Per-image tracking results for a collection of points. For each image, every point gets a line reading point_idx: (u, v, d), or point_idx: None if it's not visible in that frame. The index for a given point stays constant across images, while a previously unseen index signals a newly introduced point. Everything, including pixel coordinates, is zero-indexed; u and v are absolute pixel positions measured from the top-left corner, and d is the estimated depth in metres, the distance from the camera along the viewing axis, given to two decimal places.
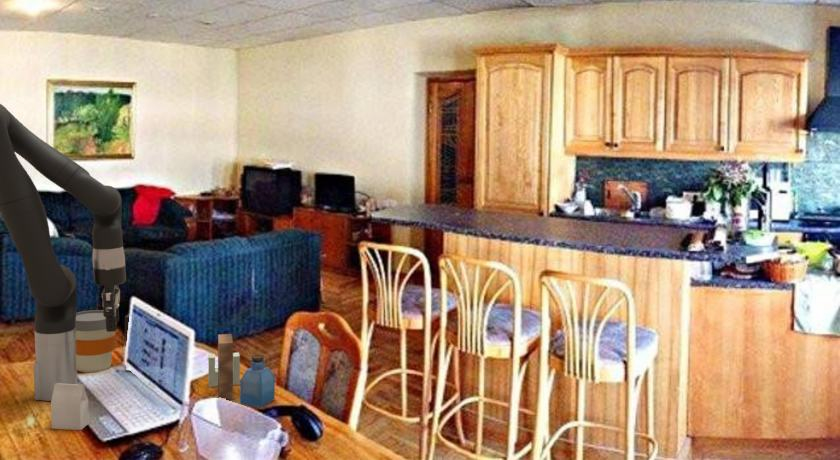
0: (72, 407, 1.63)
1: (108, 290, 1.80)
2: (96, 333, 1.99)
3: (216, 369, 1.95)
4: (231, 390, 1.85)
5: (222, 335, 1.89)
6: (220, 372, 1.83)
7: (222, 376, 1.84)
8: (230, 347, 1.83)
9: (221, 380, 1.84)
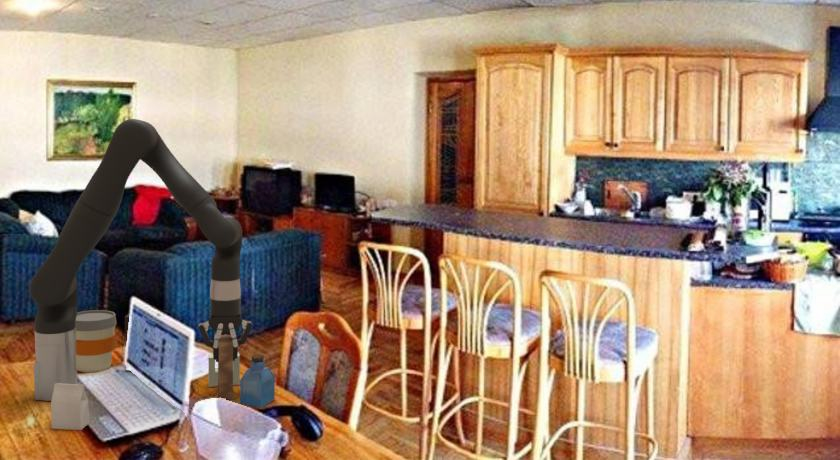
0: (72, 407, 1.63)
1: None
2: (96, 333, 1.99)
3: (216, 369, 1.95)
4: (231, 390, 1.85)
5: (222, 335, 1.89)
6: (220, 372, 1.83)
7: (222, 376, 1.84)
8: (229, 347, 1.83)
9: (221, 380, 1.84)
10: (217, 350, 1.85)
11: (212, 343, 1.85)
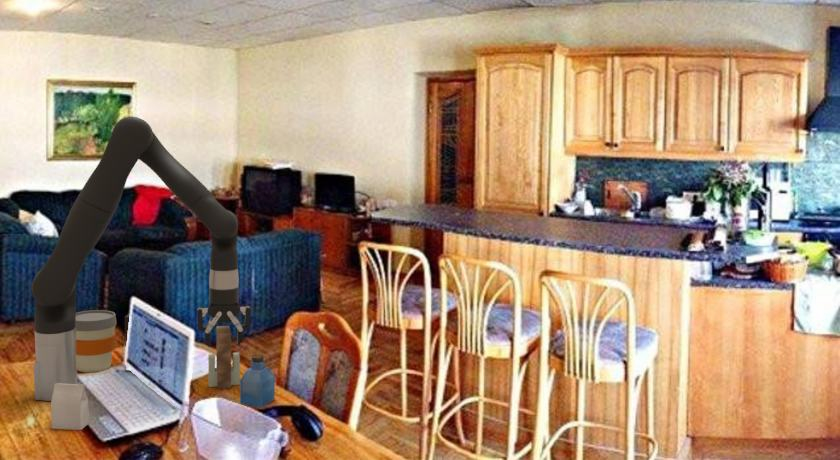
0: (72, 407, 1.63)
1: (238, 306, 1.94)
2: (96, 333, 1.99)
3: (216, 369, 1.95)
4: (229, 379, 1.92)
5: (220, 327, 1.97)
6: (219, 362, 1.91)
7: (220, 366, 1.91)
8: (228, 338, 1.91)
9: (220, 369, 1.91)
10: (209, 335, 1.92)
11: (204, 328, 1.92)
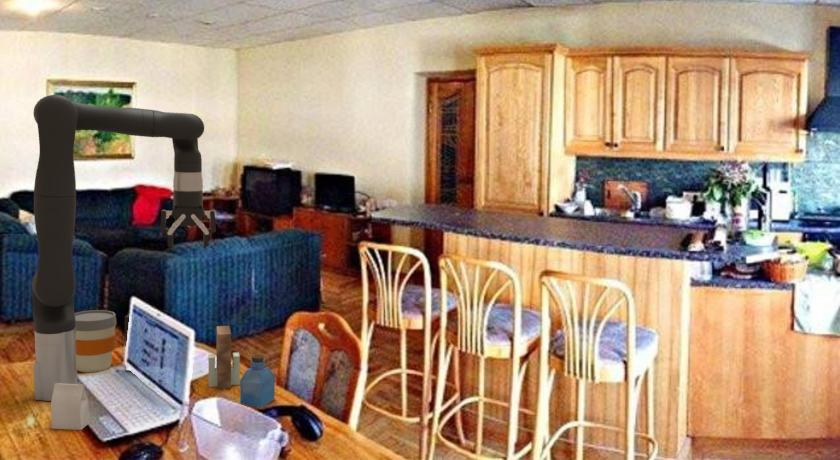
0: (72, 407, 1.63)
1: (202, 210, 1.95)
2: (96, 333, 1.99)
3: (216, 369, 1.95)
4: (229, 379, 1.92)
5: (220, 327, 1.97)
6: (219, 362, 1.91)
7: (220, 366, 1.91)
8: (228, 338, 1.91)
9: (220, 369, 1.91)
10: (171, 237, 1.93)
11: (166, 230, 1.93)
